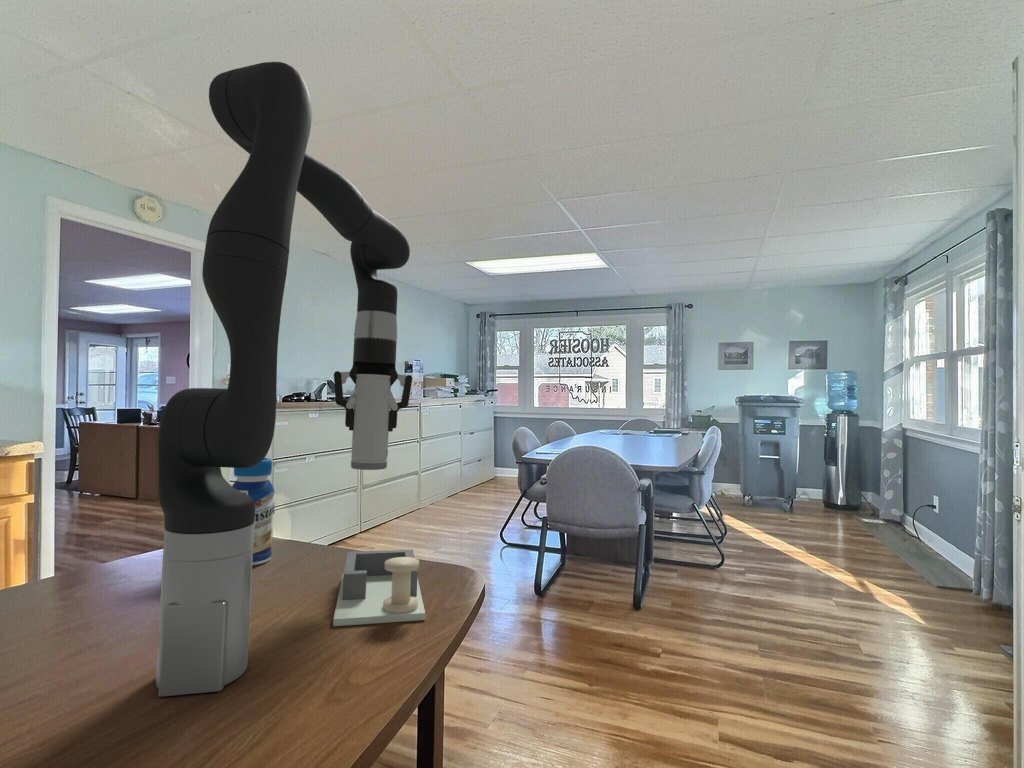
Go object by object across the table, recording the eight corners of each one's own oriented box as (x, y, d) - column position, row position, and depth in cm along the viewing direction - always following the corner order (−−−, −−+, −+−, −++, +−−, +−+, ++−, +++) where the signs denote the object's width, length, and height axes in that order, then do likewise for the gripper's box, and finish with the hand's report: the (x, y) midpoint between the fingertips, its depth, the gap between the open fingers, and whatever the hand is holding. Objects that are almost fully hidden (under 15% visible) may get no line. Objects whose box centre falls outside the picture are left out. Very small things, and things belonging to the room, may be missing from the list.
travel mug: (395, 468, 96) (400, 358, 97) (368, 470, 90) (374, 354, 91) (371, 465, 99) (376, 359, 100) (343, 467, 94) (349, 355, 95)
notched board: (425, 619, 78) (426, 566, 79) (333, 626, 75) (335, 571, 76) (415, 576, 98) (417, 533, 98) (342, 579, 95) (344, 535, 95)
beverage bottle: (254, 552, 109) (258, 455, 110) (281, 559, 105) (286, 459, 106) (214, 562, 102) (219, 459, 103) (242, 570, 98) (247, 462, 99)
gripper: (332, 333, 91) (327, 430, 90) (417, 338, 94) (413, 432, 93) (335, 338, 98) (330, 429, 97) (413, 344, 102) (409, 431, 101)
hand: (371, 430), depth 95 cm, fingers closed on travel mug, 6 cm apart
